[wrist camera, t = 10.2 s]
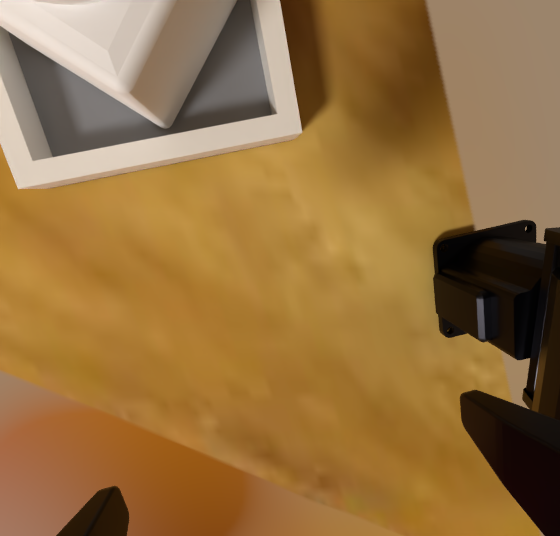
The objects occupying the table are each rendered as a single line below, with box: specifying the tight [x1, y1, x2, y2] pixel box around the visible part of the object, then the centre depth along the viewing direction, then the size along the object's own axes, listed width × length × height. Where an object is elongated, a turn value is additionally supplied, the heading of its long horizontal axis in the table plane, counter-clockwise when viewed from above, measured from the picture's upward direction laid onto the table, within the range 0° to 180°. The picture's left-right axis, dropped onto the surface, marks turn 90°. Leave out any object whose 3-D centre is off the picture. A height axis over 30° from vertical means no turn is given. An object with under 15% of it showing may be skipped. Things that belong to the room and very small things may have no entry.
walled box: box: [0, 0, 302, 189], centre depth 15 cm, size 13×13×2 cm
